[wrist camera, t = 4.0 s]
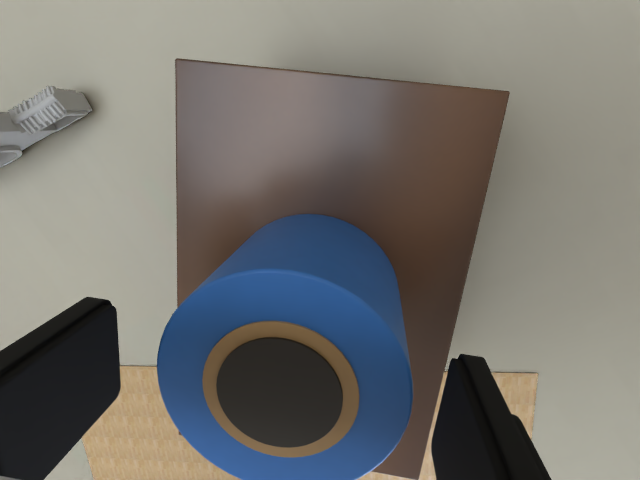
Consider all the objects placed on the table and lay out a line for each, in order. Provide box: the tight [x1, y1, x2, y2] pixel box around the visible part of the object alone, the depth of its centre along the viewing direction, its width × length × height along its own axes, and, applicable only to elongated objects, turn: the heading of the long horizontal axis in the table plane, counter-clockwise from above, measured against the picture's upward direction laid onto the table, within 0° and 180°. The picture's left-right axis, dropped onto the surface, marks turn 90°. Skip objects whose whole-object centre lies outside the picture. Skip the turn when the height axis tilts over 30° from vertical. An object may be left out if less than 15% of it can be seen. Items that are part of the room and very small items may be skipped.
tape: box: [157, 214, 413, 480], centre depth 12 cm, size 7×7×6 cm
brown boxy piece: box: [175, 58, 510, 480], centre depth 20 cm, size 11×16×10 cm
